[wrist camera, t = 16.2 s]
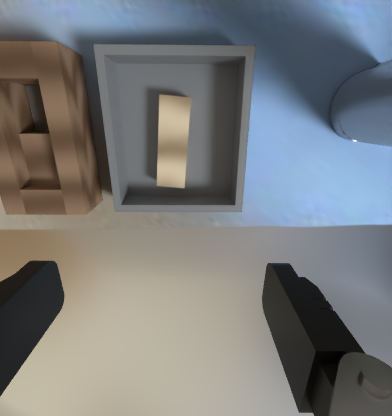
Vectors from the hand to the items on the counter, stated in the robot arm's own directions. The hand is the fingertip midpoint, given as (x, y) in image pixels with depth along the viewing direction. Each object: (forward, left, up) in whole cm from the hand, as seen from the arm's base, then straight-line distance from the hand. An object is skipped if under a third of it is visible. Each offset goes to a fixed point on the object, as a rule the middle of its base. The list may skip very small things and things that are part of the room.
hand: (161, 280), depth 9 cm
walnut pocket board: (+10, -16, -28) cm, 34 cm away
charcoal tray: (-2, -3, -28) cm, 29 cm away
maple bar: (-1, -3, -28) cm, 28 cm away
